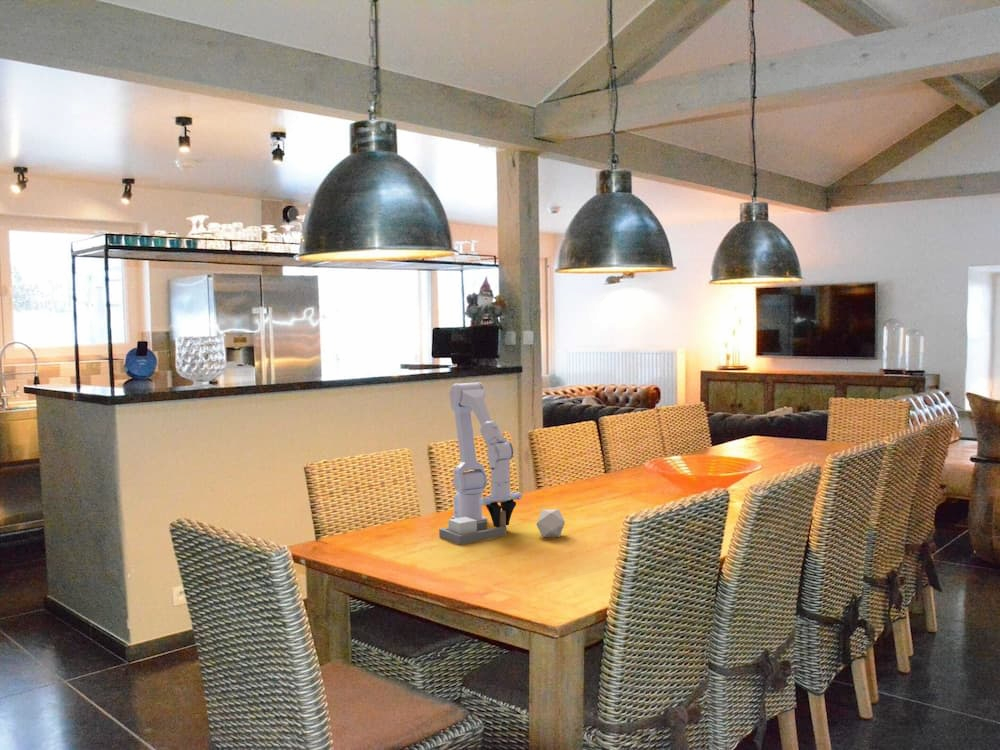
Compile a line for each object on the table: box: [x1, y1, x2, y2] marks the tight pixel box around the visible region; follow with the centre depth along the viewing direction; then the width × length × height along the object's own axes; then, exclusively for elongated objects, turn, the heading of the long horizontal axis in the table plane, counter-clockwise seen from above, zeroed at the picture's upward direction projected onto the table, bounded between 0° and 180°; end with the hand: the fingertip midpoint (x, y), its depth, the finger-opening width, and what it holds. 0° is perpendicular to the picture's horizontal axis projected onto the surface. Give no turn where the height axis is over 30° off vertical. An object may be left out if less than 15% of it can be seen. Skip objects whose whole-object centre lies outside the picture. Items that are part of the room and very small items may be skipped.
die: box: [536, 508, 566, 538], centre depth 258 cm, size 8×9×10 cm
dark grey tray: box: [438, 520, 506, 546], centre depth 259 cm, size 11×16×2 cm
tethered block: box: [447, 509, 507, 535], centre depth 260 cm, size 6×18×6 cm, turn 126°
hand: (501, 525), depth 265 cm, fingers closed on tethered block, 3 cm apart
